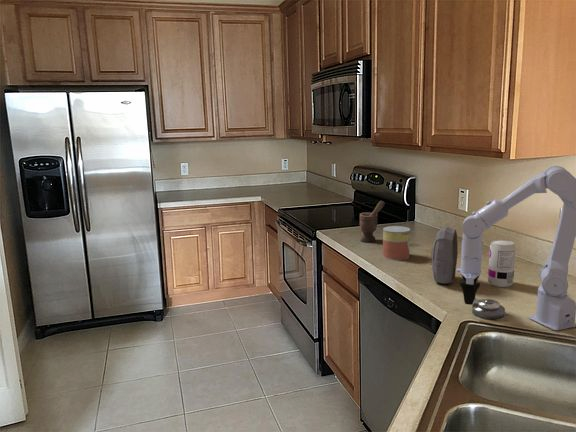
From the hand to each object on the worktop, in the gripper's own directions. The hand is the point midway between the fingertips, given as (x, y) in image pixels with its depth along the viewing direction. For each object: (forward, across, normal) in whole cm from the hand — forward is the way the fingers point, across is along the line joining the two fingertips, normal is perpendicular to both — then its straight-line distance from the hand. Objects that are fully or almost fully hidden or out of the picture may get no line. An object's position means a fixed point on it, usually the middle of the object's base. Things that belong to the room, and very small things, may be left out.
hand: (469, 299), depth 143 cm
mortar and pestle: (+4, -75, -45) cm, 88 cm away
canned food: (+4, -52, -30) cm, 61 cm away
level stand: (+4, 0, +6) cm, 7 cm away
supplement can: (+4, -29, +10) cm, 31 cm away
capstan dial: (+2, -1, +4) cm, 4 cm away
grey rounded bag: (+4, -27, -9) cm, 29 cm away
